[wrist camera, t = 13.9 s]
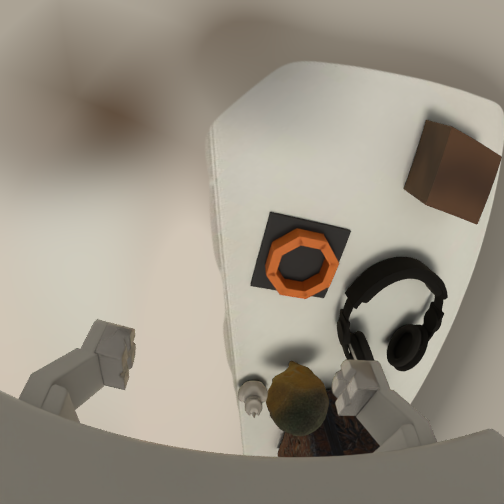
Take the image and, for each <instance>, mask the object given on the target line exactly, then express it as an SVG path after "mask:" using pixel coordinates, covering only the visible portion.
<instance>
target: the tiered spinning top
mask: <svg viewBox="0 0 504 504" xmlns="http://www.w3.org/2000/svg"><path fill="white" fill-rule="evenodd" d="M267 397H268V390H267V388H266V387H265V386H264V385H263V383H262V382H259V381H247V382H245V383H244V384H243V385H242V386H241V387H240V388H239V391H238V399H239V400H240V401H243V402H244V403H245V411H246V412H247V413H248V415H249V416H250V414H252V415H253V417H254V418H255V415H256V414H257V415H259V414H260V413H261V411H262V402H265V401H266V400H267Z"/></svg>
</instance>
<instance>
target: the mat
mask: <svg viewBox="0 0 504 504" xmlns="http://www.w3.org/2000/svg"><path fill="white" fill-rule="evenodd" d="M296 228H298V229H303V230H307V231H312V232H316V233H321V234H324V236H325V238H326V240H327V241H328V243H329V245H330V247H331V249H332V251H333V252H334V254H335V256H336V258H337V260H338V262H339V261H340V258H341V256H342V253H343V251H344V248H345V246H346V243H347V240H348V238H349V235H350V232H351V231H350V230H347V229H343V228H339V227H335V226H330V225H326V224H322V223H317V222H313V221H309V220H304V219H300V218H295V217H291V216H286V215H281V214H277V213H272V212H270V215H269V219H268V222H267V226H266V230H265V233H264V237H263V241H262V244H261V248H260V252H259V255H258V259H257V263H256V266H255V270H254V274H253V277H252V281H251V286H254V287H260V288H266V289H271V290H276V288H275V287H274V286H273V284H272V283H271V281H270V280H269V279H268V277H267V276H266V269H265V264H266V261H267V258H268V254H269V251H270V247H271V244H272V242H273V241H275V240H277V239H278V238H280V237H282V236H284V235H286V234H287V233H289V232H291V231H293V230H294V229H296ZM324 259H325V256H324V255H323V253H322V251H321V249H316V248H311V247H306V246H299V247H297V248H295V249H293V250H291V251H290V252H288V253H286V254H284V255H282V257H281V260H280V263H279V266H278V270H279V272H280V273H281V275H282V276H283V278H284V279H290V280H295V281H301V282H303V281H305V280H307V279H309V278H310V277H312V276H314V275H316V274H318V273H319V272H320V270H321V267H322V264H323V262H324ZM328 288H329V287H328ZM328 288H326V289H324V290H322V291H320V292H318V293H316V294H314V295H312V296H314V297H320V298H324V297H325V295H326V292H327V290H328Z"/></svg>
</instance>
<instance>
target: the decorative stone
mask: <svg viewBox="0 0 504 504" xmlns="http://www.w3.org/2000/svg"><path fill="white" fill-rule="evenodd" d="M266 404H267V408H268V411H269V412H270V416H271V418H272V419H273V421H274V422H275V424H276V425H277V426H278V427H279V428H280V429H281V430H283V431H285V432H287V433H290V434H292V435H294V436H300V437H301V436H306V435H308V434H310V433H312V432H314V431H316V430H317V429H318V428H319V427H320V426H321V424H322V423H323V421H324V420H325V417H326V414H327V410H328V406H329V398H328V395H327V392H326V389H325V386H324V383H323V382H322V381H321V380H320V379H319V378H318V377H317V376H316V375H315V374H314V373H313V372H312V371H311V370H310V369H309V368H308V367H306V366H302V365H300V364H298V363H296V362H293V361H290V362H289V367H288V368H287V370H286V371H284V372H282V373H281V374H279V375H277V376H275V377H274V378H273V379H272V385H271V386H270V388H269V390H268V397H267V400H266Z"/></svg>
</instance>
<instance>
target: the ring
mask: <svg viewBox="0 0 504 504" xmlns="http://www.w3.org/2000/svg"><path fill="white" fill-rule="evenodd" d="M299 246H306V247H311V248H316V249H321V251H322V253H323V255H324V256H325V259H324V262H323V264H322V267H321V270H320V272H319V273H318V274H316V275H314V276H312V277H310V278H309V279H307V280H305V281H303V282H301V281H295V280H290V279H284V278H283V276H282V275H281V273H280V272H279V270H278V266H279V263H280V260H281V257H282V255H284V254H286V253H288V252H290V251H291V250H293V249H295V248H297V247H299ZM338 265H339V262H338V260H337V258H336V256H335V254H334V252H333V251H332V249H331V247H330V245H329V243H328V241H327V240H326V238H325V236H324V234H321V233H316V232H312V231H307V230H303V229H298V228H296V229H294V230H293V231H291V232H289V233H287V234H286V235H284V236H282V237H280V238H278V239H277V240H275V241H273V242H272V244H271V247H270V251H269V254H268V258H267V261H266V264H265V269H266V276H267V277H268V279H269V280H270V281H271V283H272V284H273V286H274V287H275V288H276V290H277V291H278V292H279V294H280V295H285V296H291V297H297V298H304V299H307V298H308V297H310V296H312V295H314V294H316V293H318V292H320V291H322V290H324V289H326V288H328V287H329V286H330V284H331V282H332V279H333V277H334V275H335V272H336V270H337V267H338Z"/></svg>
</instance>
